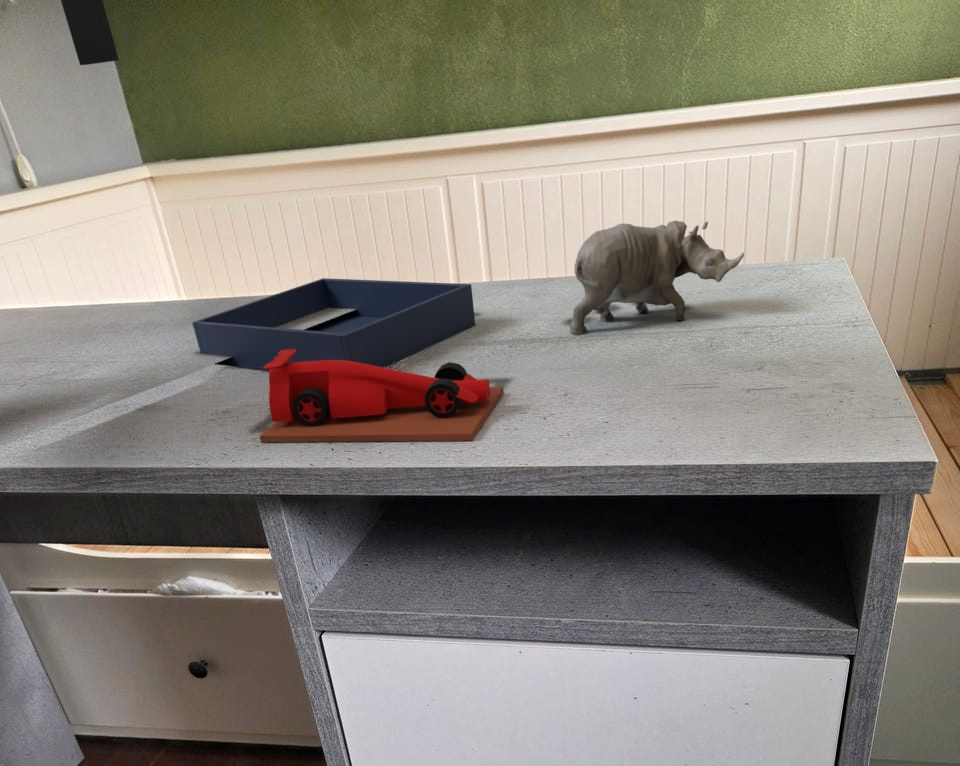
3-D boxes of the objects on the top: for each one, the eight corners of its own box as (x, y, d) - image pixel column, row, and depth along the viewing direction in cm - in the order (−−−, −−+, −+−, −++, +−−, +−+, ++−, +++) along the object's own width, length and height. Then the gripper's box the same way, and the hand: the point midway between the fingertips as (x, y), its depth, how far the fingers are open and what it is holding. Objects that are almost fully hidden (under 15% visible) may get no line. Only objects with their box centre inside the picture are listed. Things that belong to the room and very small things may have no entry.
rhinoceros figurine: (537, 296, 94) (619, 159, 86) (640, 357, 98) (727, 233, 90) (543, 320, 88) (632, 175, 80) (653, 385, 92) (747, 254, 84)
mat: (260, 442, 72) (258, 435, 71) (313, 397, 80) (312, 391, 80) (472, 440, 67) (471, 433, 67) (503, 393, 76) (503, 386, 75)
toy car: (485, 416, 70) (479, 352, 67) (273, 429, 72) (258, 368, 70) (493, 392, 74) (487, 331, 72) (294, 405, 77) (281, 347, 74)
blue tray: (202, 362, 95) (191, 322, 93) (330, 314, 108) (323, 278, 106) (353, 381, 83) (345, 335, 81) (475, 325, 97) (471, 283, 94)
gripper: (-300, -589, 34) (-58, 65, 45) (87, -361, 54) (187, 54, 65) (-435, -532, 36) (-170, 82, 47) (-13, -332, 56) (101, 66, 67)
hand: (37, 66), depth 56 cm, fingers open, 13 cm apart
